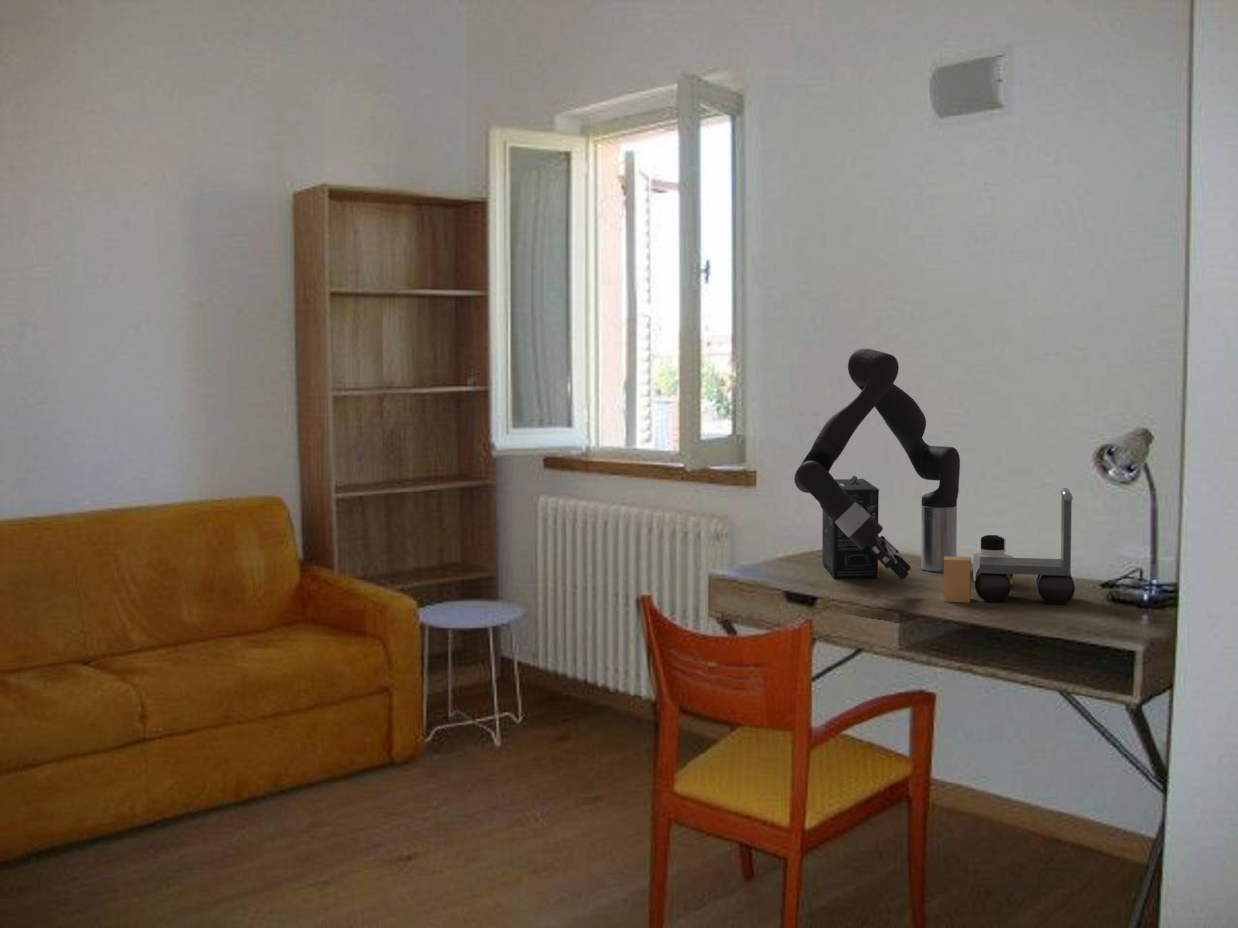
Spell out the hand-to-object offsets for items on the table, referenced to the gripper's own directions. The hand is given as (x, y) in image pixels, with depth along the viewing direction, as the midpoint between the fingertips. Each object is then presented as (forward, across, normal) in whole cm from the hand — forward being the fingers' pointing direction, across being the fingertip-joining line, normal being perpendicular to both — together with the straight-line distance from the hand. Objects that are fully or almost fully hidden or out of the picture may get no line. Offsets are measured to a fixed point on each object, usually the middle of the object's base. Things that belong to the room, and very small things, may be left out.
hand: (907, 573), depth 294 cm
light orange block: (+12, 0, -4) cm, 13 cm away
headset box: (-8, +33, +17) cm, 38 cm away
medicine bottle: (+18, +24, -10) cm, 32 cm away
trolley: (+23, +3, -15) cm, 28 cm away
